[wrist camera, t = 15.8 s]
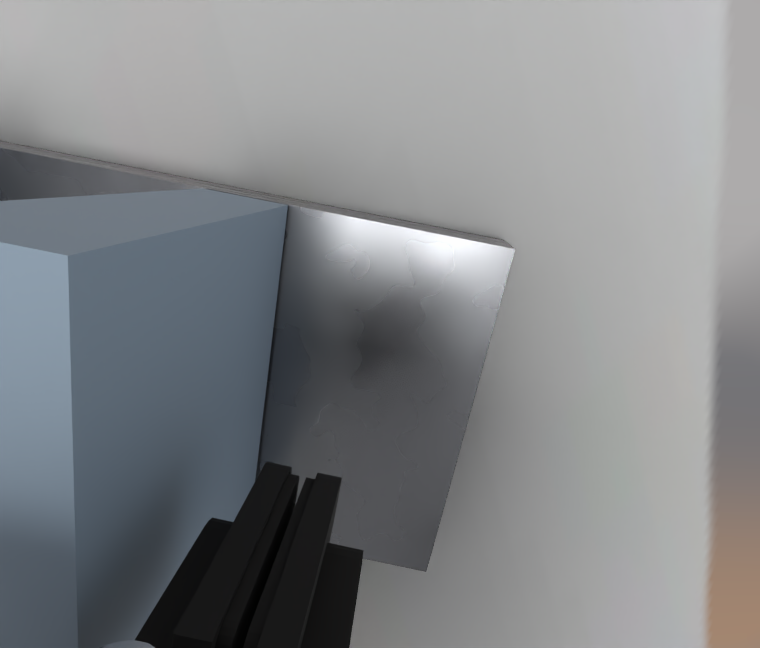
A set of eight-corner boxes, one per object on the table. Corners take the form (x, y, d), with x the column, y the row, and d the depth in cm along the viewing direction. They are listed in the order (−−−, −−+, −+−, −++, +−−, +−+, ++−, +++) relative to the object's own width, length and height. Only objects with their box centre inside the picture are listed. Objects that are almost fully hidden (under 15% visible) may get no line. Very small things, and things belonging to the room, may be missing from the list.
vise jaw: (248, 538, 17) (84, 884, 9) (181, 524, 17) (-45, 854, 9) (287, 204, 13) (67, 254, 5) (202, 188, 13) (-155, 210, 5)
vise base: (425, 532, 19) (432, 965, 9) (-2, 442, 19) (-490, 751, 9) (503, 239, 15) (681, 379, 5) (-27, 135, 16) (-915, 57, 5)
